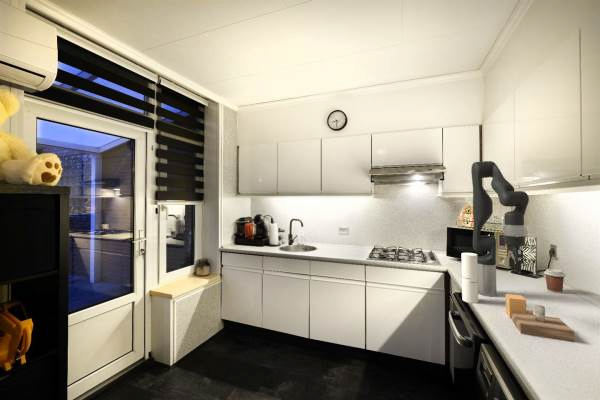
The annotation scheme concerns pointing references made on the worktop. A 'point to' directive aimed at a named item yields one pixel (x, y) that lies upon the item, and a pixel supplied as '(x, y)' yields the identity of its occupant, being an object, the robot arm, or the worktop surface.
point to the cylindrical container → (469, 278)
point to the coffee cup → (554, 280)
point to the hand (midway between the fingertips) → (515, 269)
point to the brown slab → (542, 325)
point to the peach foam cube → (516, 305)
